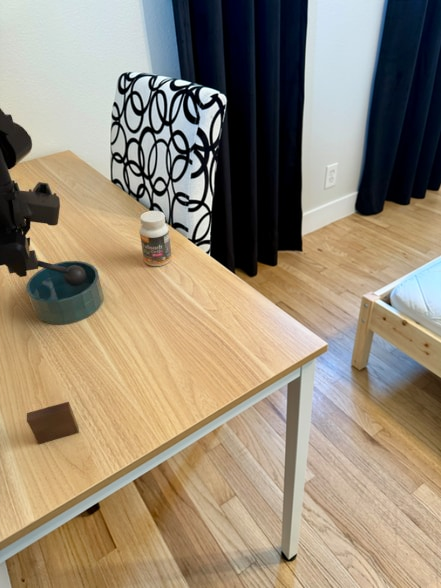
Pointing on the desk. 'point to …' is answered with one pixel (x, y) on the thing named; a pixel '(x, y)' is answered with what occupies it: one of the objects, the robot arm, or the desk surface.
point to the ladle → (57, 269)
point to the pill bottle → (155, 238)
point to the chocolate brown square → (52, 422)
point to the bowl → (64, 294)
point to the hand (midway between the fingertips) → (23, 272)
